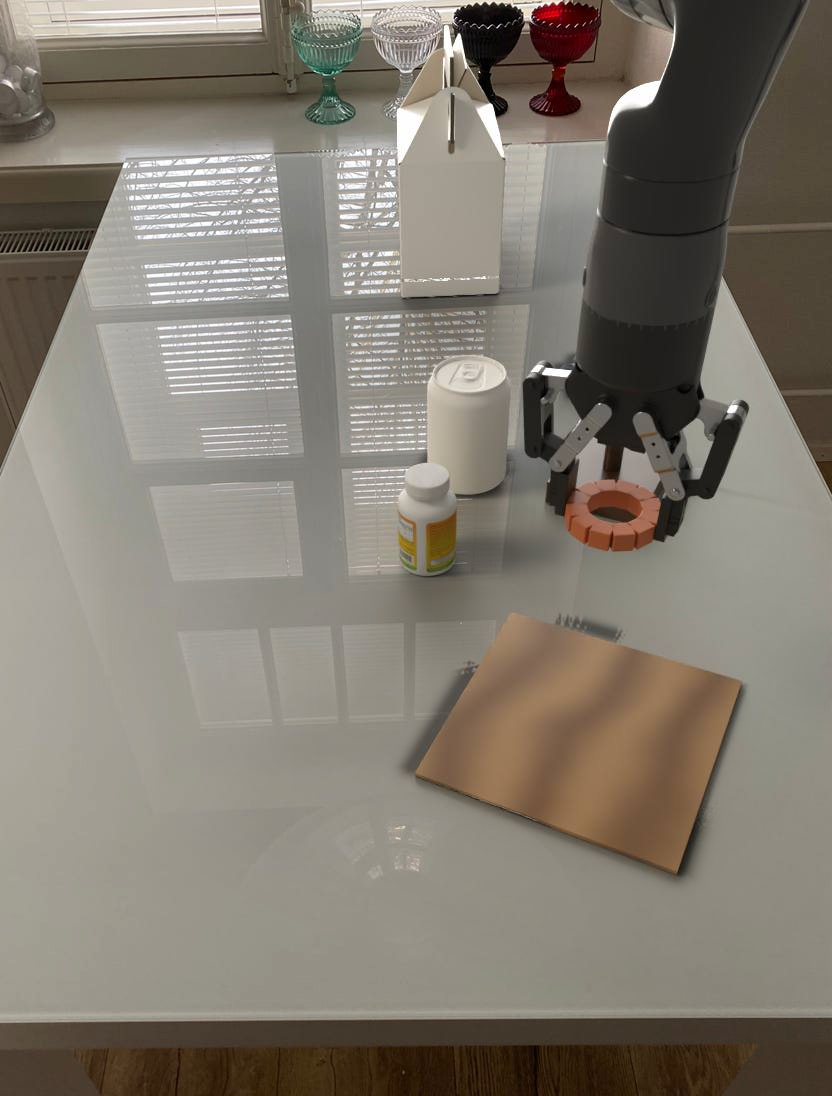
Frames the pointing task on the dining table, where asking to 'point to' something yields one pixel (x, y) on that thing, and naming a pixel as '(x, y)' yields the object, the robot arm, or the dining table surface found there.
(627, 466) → the peg stand
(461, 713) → the wooden board
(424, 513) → the supplement bottle
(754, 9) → the robot arm
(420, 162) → the gable box
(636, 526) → the ring
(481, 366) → the beverage can
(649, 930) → the dining table surface
